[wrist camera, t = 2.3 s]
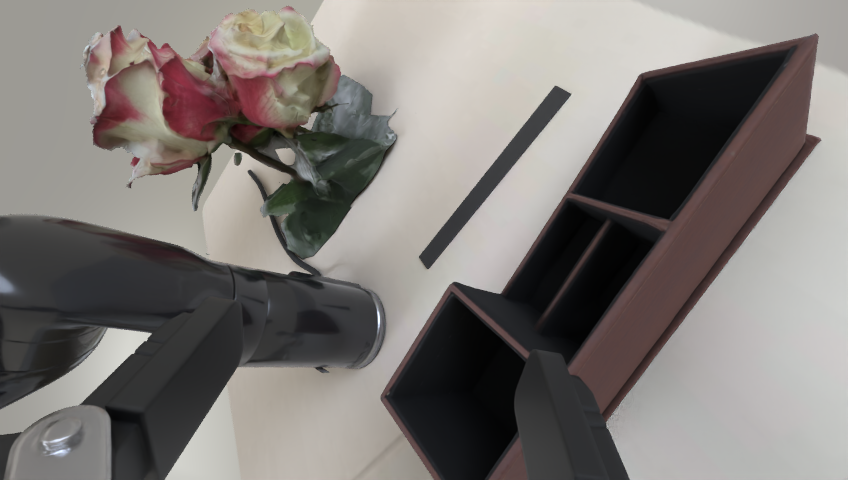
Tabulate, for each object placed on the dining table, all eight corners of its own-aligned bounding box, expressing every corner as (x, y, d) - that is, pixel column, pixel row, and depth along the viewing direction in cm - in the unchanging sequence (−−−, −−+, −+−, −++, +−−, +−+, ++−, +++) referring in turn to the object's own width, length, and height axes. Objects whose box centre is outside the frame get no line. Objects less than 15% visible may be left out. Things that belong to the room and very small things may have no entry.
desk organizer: (463, 390, 36) (371, 397, 28) (655, 100, 31) (611, 4, 23) (553, 494, 29) (465, 544, 21) (822, 140, 24) (845, 22, 16)
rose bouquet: (424, 109, 49) (145, -94, 28) (306, 276, 58) (24, 221, 36) (353, 45, 65) (141, -115, 44) (268, 183, 74) (58, 106, 52)
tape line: (419, 257, 44) (418, 256, 43) (556, 86, 37) (555, 85, 37) (428, 269, 42) (427, 268, 42) (571, 94, 36) (570, 93, 36)
